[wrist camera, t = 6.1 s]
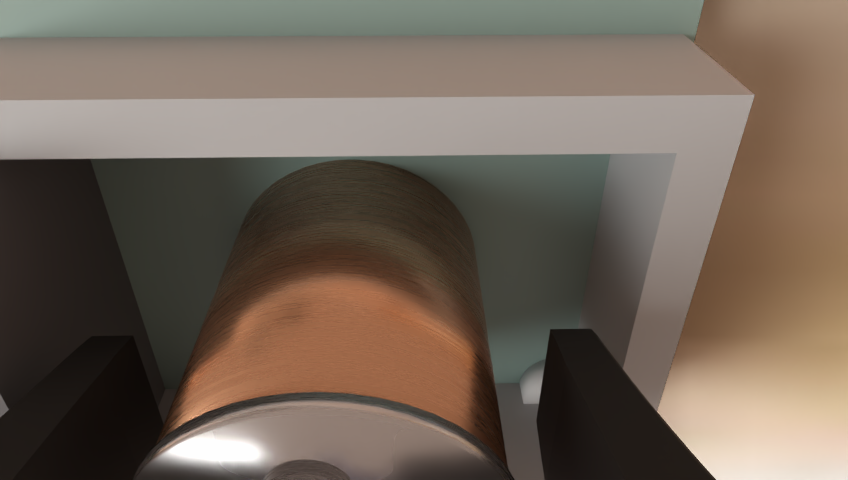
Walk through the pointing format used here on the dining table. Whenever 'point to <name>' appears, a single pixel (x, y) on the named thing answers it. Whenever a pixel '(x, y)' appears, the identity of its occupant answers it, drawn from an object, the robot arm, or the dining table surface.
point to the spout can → (341, 342)
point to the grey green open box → (361, 140)
